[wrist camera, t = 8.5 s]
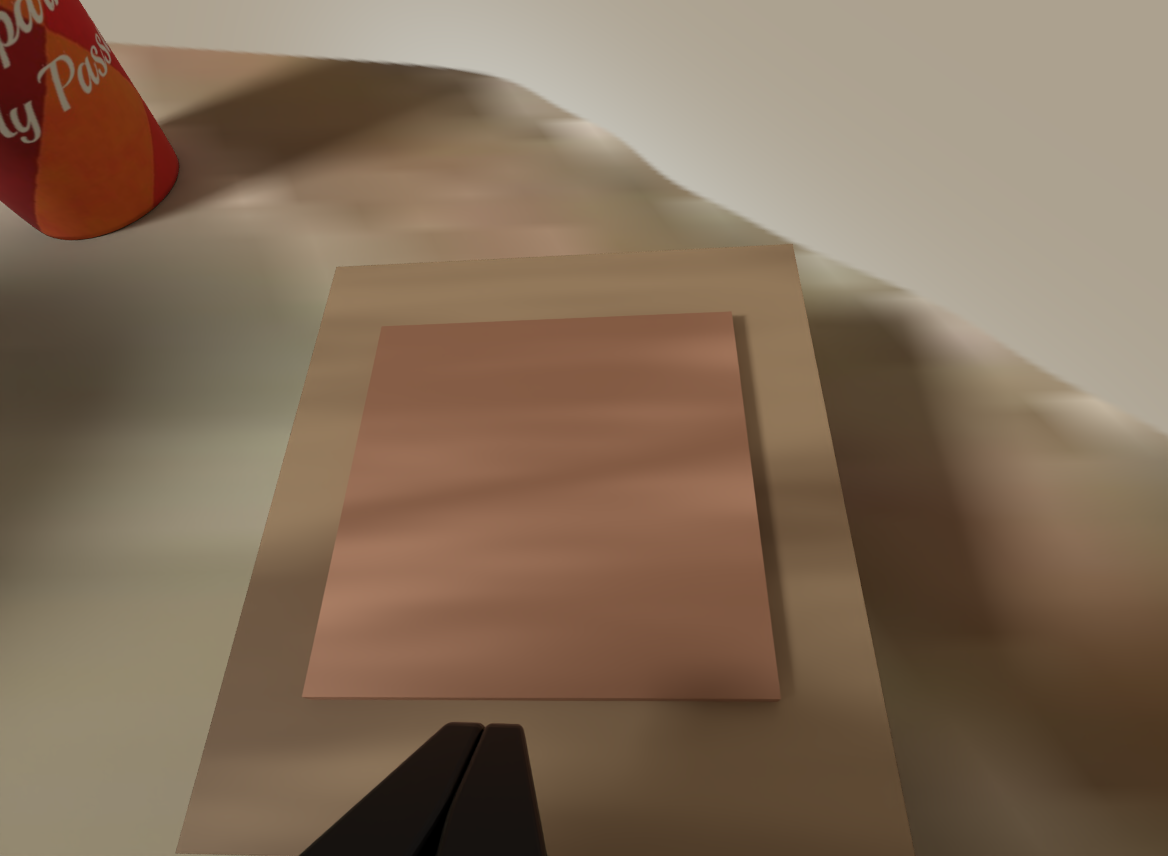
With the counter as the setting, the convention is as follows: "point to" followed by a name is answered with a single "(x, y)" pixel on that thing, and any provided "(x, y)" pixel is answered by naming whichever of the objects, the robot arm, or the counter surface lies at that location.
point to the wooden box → (563, 565)
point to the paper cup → (73, 126)
